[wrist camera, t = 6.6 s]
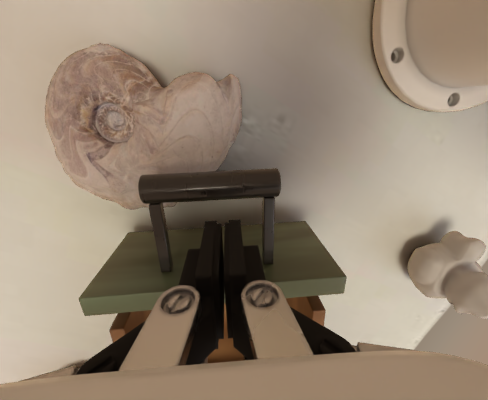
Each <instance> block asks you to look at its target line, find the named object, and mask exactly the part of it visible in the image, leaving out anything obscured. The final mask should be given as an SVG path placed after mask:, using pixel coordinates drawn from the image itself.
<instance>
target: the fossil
mask: <svg viewBox="0 0 488 400" xmlns="http://www.w3.org/2000/svg"><path fill="white" fill-rule="evenodd" d="M241 104H242V98H241V91H240V83H239V80H238V78H237V77H235V76H234V75H232V74H229V75H228V76H227V77H225V78H224V79H223V80H220V81H218V82H215V80H214V79H213V78H212V77H211V76H209V75H208V74H205V73H199V72H193V73H187V74H184V75H182V76H179V77H177V78H175V79H174V80H173V81H172V82H171V83H170V85H169V86H167V87H164V88H162V87H161V85H160V84H159V82H158V81H157V80H156V78H155V77H154V76H153V74H152V73H151V72H150V70H149V69H148V68H147V67H146V66H145V65H144V64H143V63H141V62H140V61H138V60H137V59H135V58H133V57H131V56H129V55H127V54H126V53H125V52H123V51H122V50H120V49H116V48H113V47H112V46H110V45H109V44H101V43H99V44H96V45H92V46H90V47H89V48H86V49H83V50H79V51H77V52H75V53H73V54H72V55H70V56H69V57H67V58H66V59H65V60H64V61H63V62H62V63H61V64H60V66H59V67H58V69H57V70H56V72H55V74H54V76H53V78H52V80H51V82H50V85H49V88H48V93H47V96H46V106H45V122H46V126H47V129H48V132H49V134H50V137H51V140H52V142H53V144H54V147H55V153H56V156H57V158H58V159H59V161H60V162H61V163H62V165H63V169H64V171H65V172H66V174H68V175H69V177H70V178H71V179H72V181H73V182H74V183H75V184H76V185H77V186H79V187H81V188H83V189H85V190H87V191H89V192H90V193H92V194H94V195H96V196H99V197H101V198H102V199H106V200H111V201H114V202H117V203H118V204H120V205H121V206H123V207H125V208H127V209H138V208H141V207H149V204H144V203H142V201H141V199H140V196H139V192H138V182H139V178H140V176H141V175H147V174H168V173H189V172H210V171H215V170H217V169H218V168H219V166H220V165H221V164H222V162H223V161H224V159H225V157H226V156H227V153H228V151H229V149H230V146H231V145H232V144H233V143H234V142H235V139H236V136H237V134H238V131H239V128H240V125H241V120H242V113H241ZM176 203H177V202H172V203H163V207H164V208H165V207H173V206H175V205H176Z"/></svg>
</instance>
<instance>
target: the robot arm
mask: <svg viewBox="0 0 488 400" xmlns="http://www.w3.org/2000/svg"><path fill="white" fill-rule="evenodd" d="M373 46H374V51H375V57H376V62H377V64H378V67H379V69H380V72H381V74H382V77H383V79H384V80H385V82H386V83H387V85H388V86H389V88H390V89H391V91H392V92H393V93H394V94H396V95H397V96H398V97H399V98H400V99H401V100H402V101H404V102H405V103H407V104H409V105H411V106H413V107H414V108H418V109H422V110H426V111H436V112H450V111H461V110H465V109H468V108H472V107H475V106H478V105H480V104H482V103H484V102H486V101H488V0H375V6H374V13H373ZM224 293H225V304H226V318H227V331H228V339H229V338H233V346H234V348H235V349H237V350H238V351H239V352H240V353H241V354H242V355H243V357H244V361H231V362H219V363H208V356H209V355H210V354H211V353H212V352H213V351H214V350H215V349H218V341H219V339H224ZM0 400H488V365H486V364H483V363H480V362H477V361H473V360H469V359H465V358H462V357H458V356H454V355H448V354H442V353H436V352H428V351H417V350H410V349H403V348H396V347H388V346H381V345H374V344H367V343H360V342H358V344H357V346H354V345H351V344H350V343H349V342H348V341H346V340H345V339H344V338H342V337H341V336H339V335H337V334H336V333H334V332H332V331H331V330H329V329H327V328H325V327H324V326H322V325H320V324H319V323H317V322H315V321H314V320H312V319H310V318H308V317H307V316H305V315H303V314H302V313H300V312H298V311H297V310H295V309H293V308H291V307H290V306H289V304H288V302H287V300H286V298H285V296H284V294H283V292H282V290H281V289H280V288H279V286H277V285H276V284H275V283H272V282H270V281H266V279H265V274H264V270H263V265H262V261H261V256H260V251H259V247H258V245H250V246H243V241H242V232H241V223H240V220H229V223H225V233H224V254H223V240H222V226H221V224H217V221H205V225H204V230H203V236H202V241H201V246H200V248H198V249H188V252H187V256H186V259H185V263H184V267H183V271H182V274H181V278H180V282H179V285H178V286H175V287H172V288H170V289H168V290H166V291H165V292H164V293H162V294H161V296H160V297H159V298H158V300H157V302H156V303H155V305H154V307H153V309H152V311H151V312H150V314H149V316H148V318H147V320H146V321H144V322H143V323H141V324H140V325H138V326H137V327H135V328H134V329H133V330H131V331H130V332H128V333H127V334H125V335H124V336H122V337H121V338H119V339H118V340H117V341H115V342H114V343H112V344H111V345H109V346H108V347H106V348H105V349H104V350H102V351H101V352H99V353H98V354H96V355H95V356H93V357H92V358H91V359H90V360H88V361H87V362H86V363H85V364H84V365H83V366H82V367H81V368H78V369H77V366H76V365H74V366H71V367H67V368H64V369H60V370H57V371H53V372H50V373H46V374H43V375H39V376H36V377H32V378H29V379H25V380H22V381H18V382H12V383H5V384H0Z"/></svg>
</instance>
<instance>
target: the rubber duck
mask: <svg viewBox="0 0 488 400" xmlns="http://www.w3.org/2000/svg"><path fill="white" fill-rule="evenodd" d="M485 249H486V245H485V244H484V242H482V241H481V240H479V239H476V238H468V237H465V236H463V235H462V234H461V233H460V232H457V231H451V232H448V233H447V234H445V235H444V236H443V238H442V240H441V242H440V243H432V244H428V245H425V246H423V247H419V248H416V249H415V250H414V252H413V254H412V255H411V257H410V259H409V262H408V266H407V270H408V274H409V276H410V278H411V280H412V282H413V283H414V285H415V286H416V287H417V288H418V289H419V290H420V291H421V292H422V293H423V294H424V295H425V296H427V297H430V298H447V300H448V301H449V303H451V304H453V305H454V308H455V310H456V312H458V313H461V314H465V313H471V314H472V315H475V316H477V317H479V318H485V319H488V275H487V274H485V273H483V272H482V268H481V266H480V265H479V264H478V263H477V262H476V261H477V260H479V259H480V258H481V257H482V255H483V254H484V252H485Z"/></svg>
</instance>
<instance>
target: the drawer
mask: <svg viewBox="0 0 488 400" xmlns="http://www.w3.org/2000/svg"><path fill="white" fill-rule="evenodd" d="M280 190H281V179H280V173H279V170H278V169H277V168H272V169H251V170H230V171H210V172H189V173H168V174H147V175H141V176H140V178H139V182H138V192H139V196H140V199H141V201H142V203H144V204H149V211H150V216H151V221H152V226H153V231H145V232H130V233H128V234H127V235H126V237H125V238H124V239H123V241H122V242H121V243H120V245H119V246H118V247H117V249H116V250H115V251H114V252H113V254H112V255H111V256H110V258H109V259H108V260H107V262H106V263H105V264H104V266H103V267H102V268H101V270H100V271H99V272H98V274H97V275H96V276H95V278H94V279H93V280H92V282H91V283H90V284H89V285H88V287H87V288H86V289H85V291H84V292H83V293H82V295H81V296H80V297H79V302H80V304H81V307H82V310H83V313H84V315H85V316H90V315H101V314H113V313H118V314H117V316H116V318H115V320H114V322H113V324H112V326H111V328H110V334H111V337H112V340H113V343H114V342H115V341H117V340H118V339H119V338H121V337H122V336H124V335H125V334H127V333H128V332H130V331H131V330H133V329H134V328H135V327H137V326H138V325H140V324H141V323H143V322H144V321H146V320H147V318H148V316H149V314H150V312H151V311H152V309H153V307H154V305H155V303H156V302H157V300H158V298H159V297H160V296H161V294H162V293H164V292H165V291H166V290H168V289H170V288H172V287H175V286H178V285H179V282H180V278H181V274H182V271H183V267H184V263H185V259H186V256H187V252H188V249H198V248H200V246H201V241H202V236H203V230H204V228H191V229H176V230H167V225H166V219H165V213H164V207H163V203H172V202H190V201H207V200H225V199H242V198H260V197H262V224H253V225H241V232H242V241H243V246H250V245H258V247H259V251H260V256H261V261H262V265H263V270H264V274H265V279H266V281H270V282H272V283H275V284H276V285H277V286H279V288H280V289H281V290H282V292H283V294H284V296H285V298H286V300H287V302H288V304H289V306H290V307H291V308H293V309H295V310H297V311H298V312H300V313H302V314H303V315H305V316H307V317H308V318H310V319H312V320H314V321H315V322H317V323H319V324H320V325H322V326H324V318H325V308H324V306H323V304H322V302H321V301H320V299H319V297H318V295H329V294H341V293H344V289H345V283H346V275H345V274H344V273H343V271H342V270H341V269H340V267H339V266H338V264H337V263H336V262H335V260H334V259H333V258H332V256H331V255H330V254H329V252H328V251H327V250H326V248H325V247H324V246H323V244H322V243H321V242H320V240H319V239H318V237H317V236H316V235H315V233H314V232H313V231H312V229H311V228H310V227H309V225H308V224H307V223H306V221H300V222H284V223H274V209H275V198H274V197H277V196H279V194H280ZM224 233H225V226H222V240H223V254H224ZM231 361H244V357H243V355H242V354H241V353H240V352H239V351H238V350H237V349H235V348H234V346H233V338H229V339H228V331H227V318H226V304H225V293H224V339H219V341H218V349H215V350H214V351H213V352H212V353H211V354H210V355H209V356H208V363H219V362H231Z"/></svg>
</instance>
